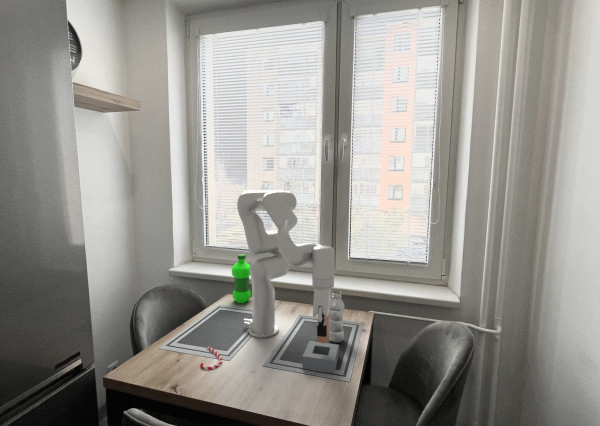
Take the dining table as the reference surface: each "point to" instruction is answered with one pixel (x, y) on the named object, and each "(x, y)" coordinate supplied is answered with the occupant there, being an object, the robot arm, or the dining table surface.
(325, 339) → the peg
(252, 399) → the dining table surface
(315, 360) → the socket block
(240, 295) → the plastic bottle
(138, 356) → the dining table surface
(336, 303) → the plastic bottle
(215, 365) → the candy cane
